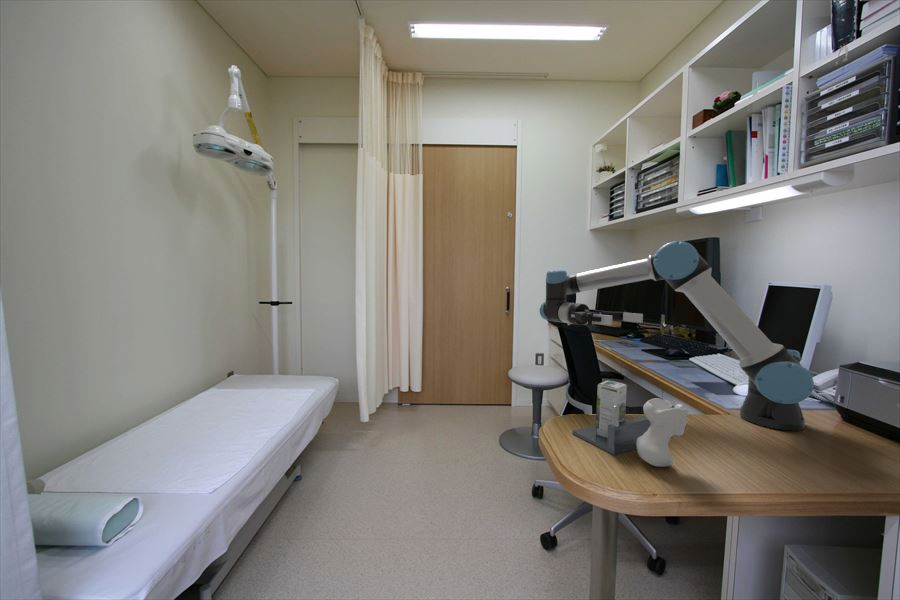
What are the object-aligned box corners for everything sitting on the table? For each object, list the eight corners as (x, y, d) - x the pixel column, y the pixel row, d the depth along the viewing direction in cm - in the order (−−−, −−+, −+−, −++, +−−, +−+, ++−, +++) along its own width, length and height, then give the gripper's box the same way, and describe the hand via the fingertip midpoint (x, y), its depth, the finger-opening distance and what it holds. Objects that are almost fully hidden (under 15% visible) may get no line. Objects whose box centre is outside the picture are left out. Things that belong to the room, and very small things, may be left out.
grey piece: (607, 425, 109) (608, 386, 108) (650, 444, 96) (651, 400, 96) (572, 433, 103) (573, 392, 102) (613, 455, 90) (615, 408, 90)
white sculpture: (628, 455, 90) (629, 396, 89) (671, 454, 91) (673, 395, 90) (652, 476, 80) (654, 410, 80) (700, 474, 81) (703, 409, 80)
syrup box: (604, 429, 104) (605, 379, 103) (625, 435, 99) (627, 383, 99) (595, 434, 100) (596, 383, 99) (617, 441, 96) (618, 387, 95)
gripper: (599, 322, 134) (653, 329, 115) (547, 325, 123) (597, 334, 104) (600, 302, 134) (654, 306, 115) (547, 304, 123) (597, 308, 104)
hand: (627, 319), depth 109 cm, fingers open, 13 cm apart
